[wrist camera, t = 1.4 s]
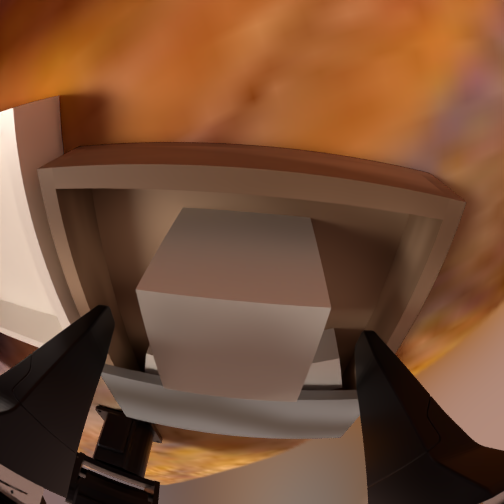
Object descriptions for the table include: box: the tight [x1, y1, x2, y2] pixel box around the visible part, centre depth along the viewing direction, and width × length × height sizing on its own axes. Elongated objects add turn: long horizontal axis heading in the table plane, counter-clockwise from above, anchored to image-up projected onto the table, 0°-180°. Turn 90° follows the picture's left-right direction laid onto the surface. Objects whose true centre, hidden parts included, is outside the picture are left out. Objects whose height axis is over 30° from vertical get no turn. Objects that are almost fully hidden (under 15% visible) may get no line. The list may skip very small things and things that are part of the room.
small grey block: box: [302, 328, 342, 390], centre depth 15 cm, size 3×3×2 cm
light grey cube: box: [136, 207, 331, 402], centre depth 11 cm, size 5×5×5 cm
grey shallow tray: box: [37, 142, 466, 439], centre depth 14 cm, size 17×15×4 cm
